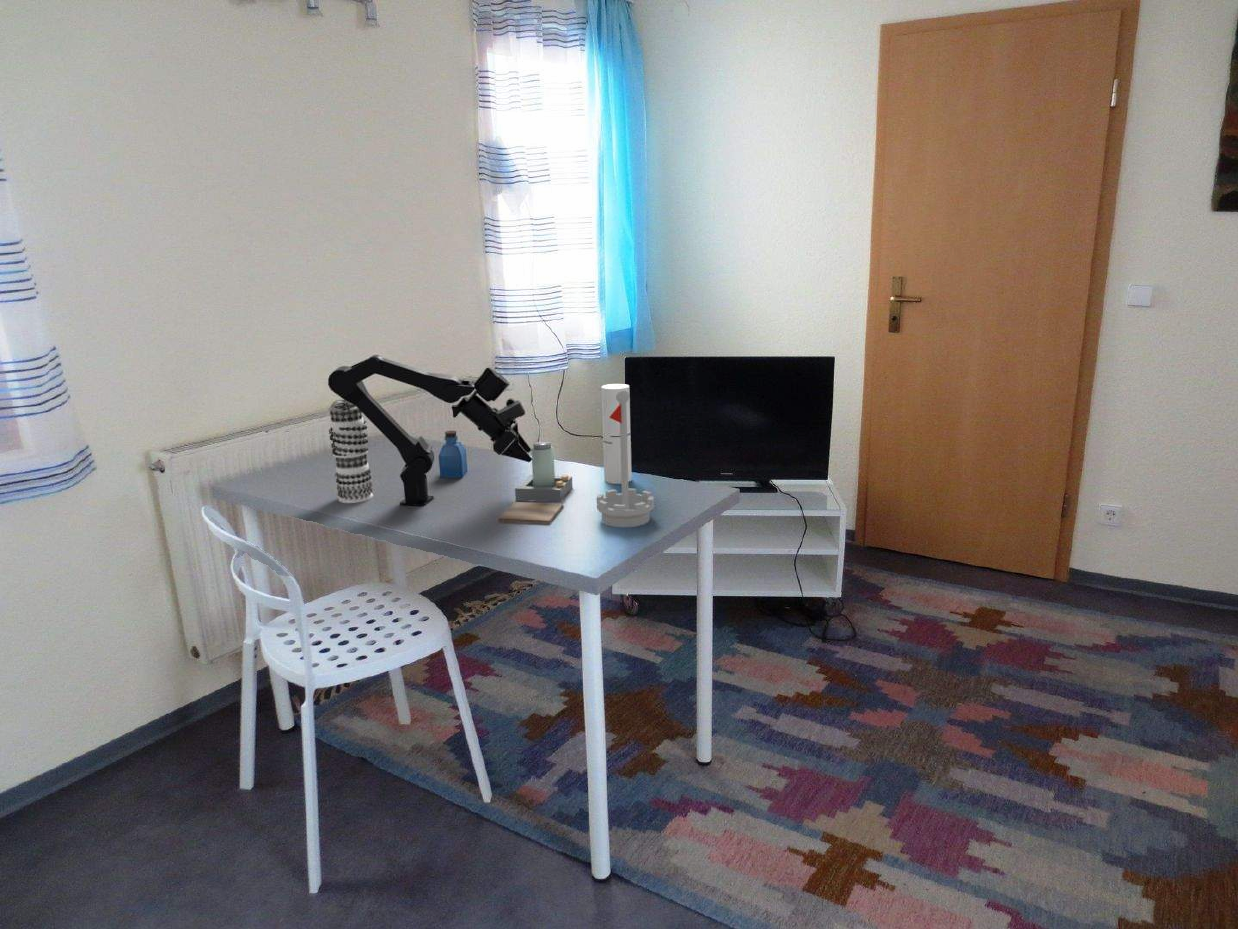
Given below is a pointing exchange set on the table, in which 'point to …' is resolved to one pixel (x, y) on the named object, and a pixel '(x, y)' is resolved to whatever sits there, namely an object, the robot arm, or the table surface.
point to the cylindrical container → (614, 434)
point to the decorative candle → (350, 452)
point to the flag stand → (624, 484)
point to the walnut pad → (531, 512)
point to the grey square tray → (544, 490)
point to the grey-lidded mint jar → (543, 464)
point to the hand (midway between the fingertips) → (530, 455)
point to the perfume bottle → (452, 457)
